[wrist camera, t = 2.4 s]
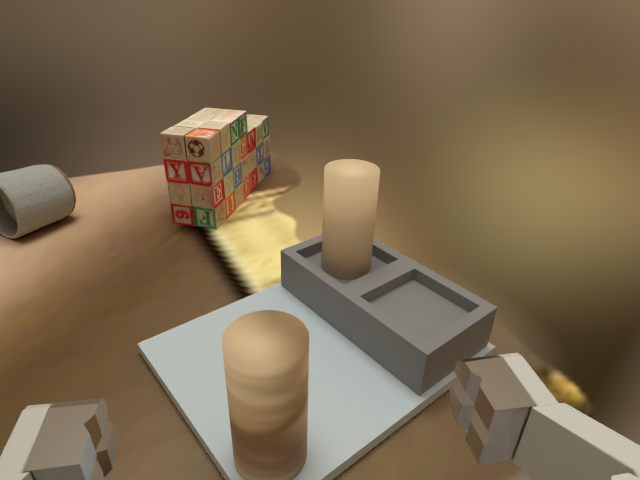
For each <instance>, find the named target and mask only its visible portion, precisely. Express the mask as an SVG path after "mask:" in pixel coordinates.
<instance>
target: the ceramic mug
mask: <svg viewBox="0 0 640 480" xmlns="http://www.w3.org/2000/svg"><path fill="white" fill-rule="evenodd" d="M75 203H76V196H75V191H74V189H73V186H72V184H71V182H70V180H69V179H68V177H67V176H66V175H65V174H64V173H63V172H62V171H61V170H60V169H58V168H57V167H55V166H52V165H46V164H45V165H34V166H30V167H26V168H22V169H18V170H13V171H8V172H3V173H0V234H2V235H3V236H5V237H7V238H10V239H15V238H18V237H21V236H23V235H25V234H27V233H30V232H32V231H35V230H37V229H39V228H42V227H44V226H46V225H48V224H51V223H53V222H56V221H58V220H61V219H63V218H64V217H66V216H68V215H69V214H70V213H72V211H73V210H74V208H75Z"/></svg>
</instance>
